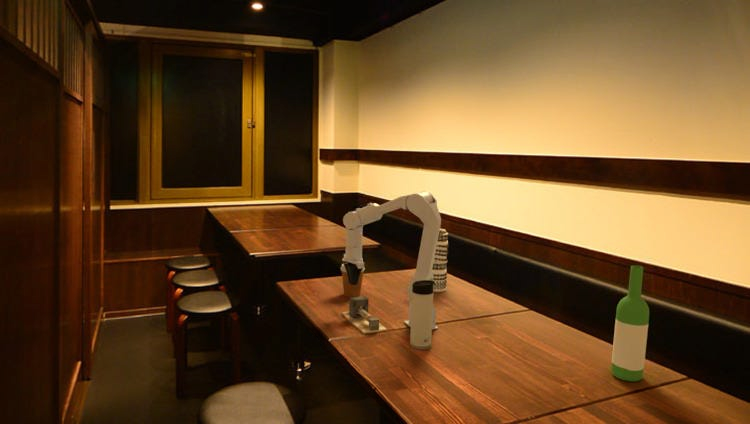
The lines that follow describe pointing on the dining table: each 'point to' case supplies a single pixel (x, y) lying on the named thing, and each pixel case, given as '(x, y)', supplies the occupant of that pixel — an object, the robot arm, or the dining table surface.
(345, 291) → the disposable coffee cup
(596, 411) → the dining table surface
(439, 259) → the decorative candle
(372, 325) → the pipe stand
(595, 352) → the dining table surface
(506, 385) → the dining table surface
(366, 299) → the grey notched block
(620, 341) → the wine bottle
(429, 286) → the travel mug
